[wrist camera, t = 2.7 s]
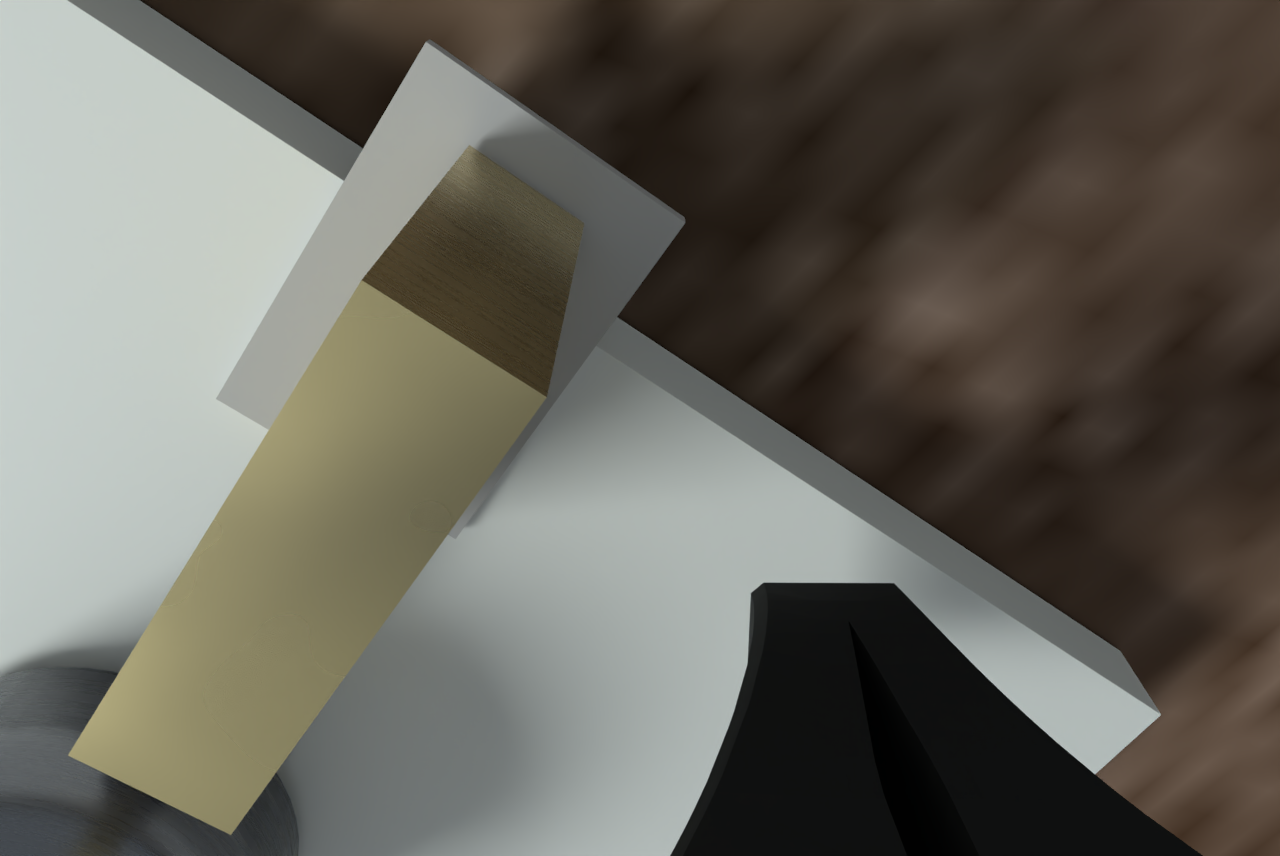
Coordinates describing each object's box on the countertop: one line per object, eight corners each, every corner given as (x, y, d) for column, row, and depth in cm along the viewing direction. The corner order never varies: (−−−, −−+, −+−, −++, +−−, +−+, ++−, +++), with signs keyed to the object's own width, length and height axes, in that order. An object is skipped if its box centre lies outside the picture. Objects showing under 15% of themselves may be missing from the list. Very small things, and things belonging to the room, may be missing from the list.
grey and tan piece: (197, 1009, 14) (41, 1385, 11) (-144, 858, 13) (-447, 1215, 10) (728, 321, 10) (769, 537, 7) (305, 33, 9) (85, 106, 6)
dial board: (1211, 564, 13) (1273, 633, 12) (444, 1288, 19) (429, 1385, 18) (-443, -605, 9) (-625, -693, 8) (-765, 797, 15) (-898, 879, 14)
